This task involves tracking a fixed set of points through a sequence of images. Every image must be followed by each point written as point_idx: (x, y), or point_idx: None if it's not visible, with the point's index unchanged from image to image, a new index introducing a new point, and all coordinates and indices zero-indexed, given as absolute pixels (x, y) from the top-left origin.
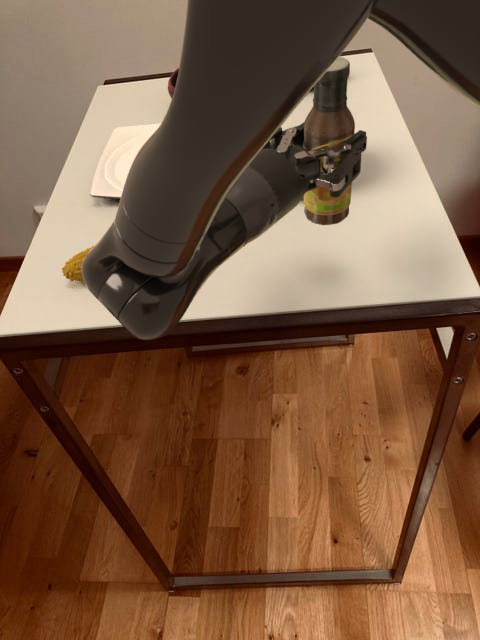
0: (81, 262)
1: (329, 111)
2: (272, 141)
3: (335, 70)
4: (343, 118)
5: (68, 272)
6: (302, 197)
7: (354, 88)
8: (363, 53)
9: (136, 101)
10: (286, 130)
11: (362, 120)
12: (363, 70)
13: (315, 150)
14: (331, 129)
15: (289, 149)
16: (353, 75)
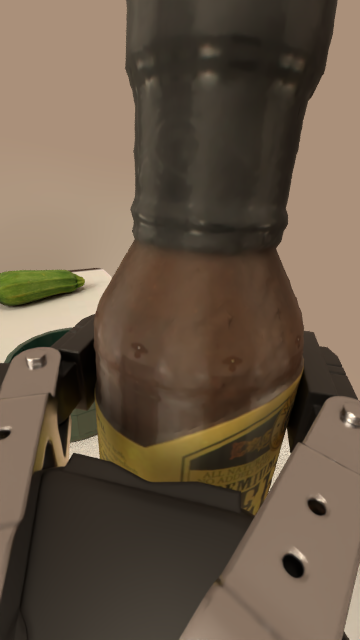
0: None
1: (242, 252)
2: (9, 358)
3: None
4: (288, 286)
5: None
6: (71, 437)
7: (100, 293)
8: (99, 269)
9: None
10: (32, 339)
11: None
12: (104, 280)
13: (278, 528)
14: (267, 340)
15: (29, 538)
16: (96, 283)
